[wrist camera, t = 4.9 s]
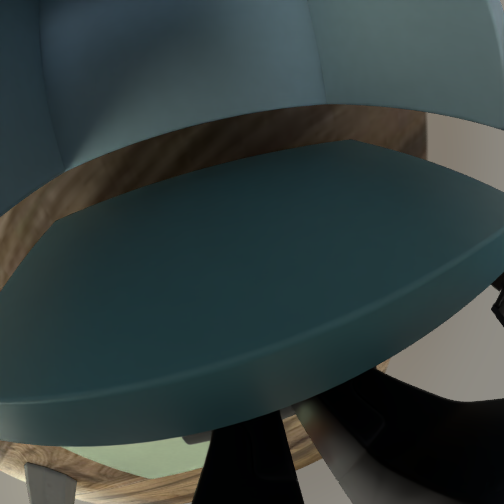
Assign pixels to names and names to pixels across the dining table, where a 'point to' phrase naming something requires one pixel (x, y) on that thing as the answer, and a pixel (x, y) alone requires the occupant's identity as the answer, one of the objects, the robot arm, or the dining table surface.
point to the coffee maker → (49, 486)
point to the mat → (149, 457)
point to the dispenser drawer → (232, 209)
